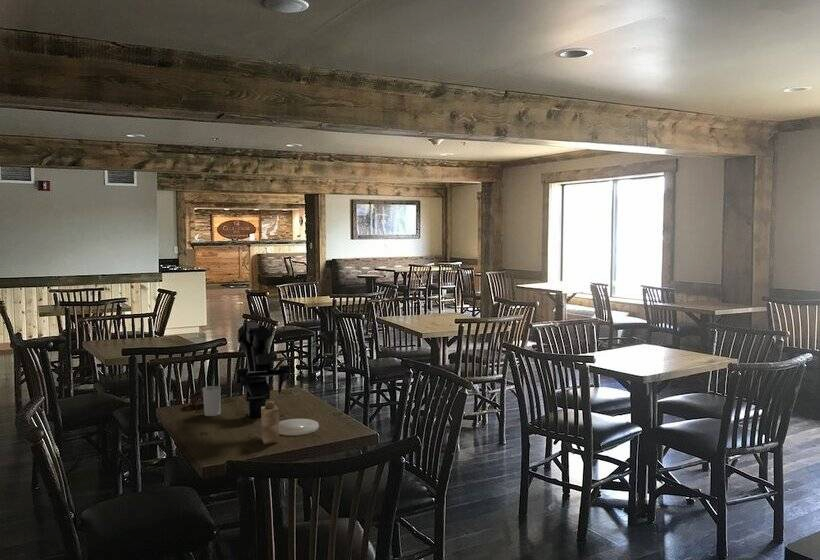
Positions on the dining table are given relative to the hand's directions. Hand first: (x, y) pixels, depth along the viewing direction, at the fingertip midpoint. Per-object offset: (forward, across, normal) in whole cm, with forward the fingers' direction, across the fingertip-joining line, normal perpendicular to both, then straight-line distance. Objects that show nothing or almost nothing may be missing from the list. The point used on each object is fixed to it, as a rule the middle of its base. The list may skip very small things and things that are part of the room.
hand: (266, 395), depth 219 cm
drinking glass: (-12, -16, +32) cm, 38 cm away
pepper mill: (+15, 0, +4) cm, 15 cm away
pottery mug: (-22, -17, +42) cm, 51 cm away
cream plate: (+8, +10, +11) cm, 17 cm away
